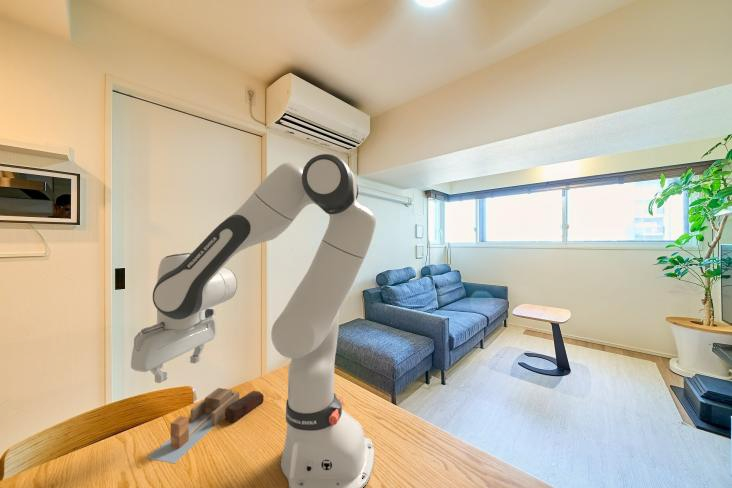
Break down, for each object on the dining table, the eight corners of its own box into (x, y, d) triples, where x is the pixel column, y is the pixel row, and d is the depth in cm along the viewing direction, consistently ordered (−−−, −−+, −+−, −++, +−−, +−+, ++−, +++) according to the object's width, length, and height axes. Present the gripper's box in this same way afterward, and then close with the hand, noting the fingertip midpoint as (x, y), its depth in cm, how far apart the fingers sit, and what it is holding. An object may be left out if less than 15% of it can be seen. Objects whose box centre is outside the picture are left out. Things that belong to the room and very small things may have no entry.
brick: (233, 428, 70) (233, 411, 70) (224, 423, 72) (224, 407, 72) (263, 406, 80) (263, 391, 80) (255, 402, 82) (255, 388, 82)
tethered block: (231, 405, 78) (231, 386, 78) (183, 449, 62) (183, 425, 62) (218, 403, 79) (218, 384, 79) (166, 446, 63) (166, 422, 63)
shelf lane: (239, 406, 79) (239, 392, 79) (174, 467, 58) (174, 448, 58) (217, 403, 81) (217, 389, 81) (146, 461, 59) (146, 443, 59)
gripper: (146, 332, 52) (146, 397, 52) (220, 307, 72) (220, 354, 73) (122, 330, 54) (122, 393, 54) (201, 306, 74) (201, 352, 74)
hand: (179, 370), depth 63 cm, fingers open, 8 cm apart
